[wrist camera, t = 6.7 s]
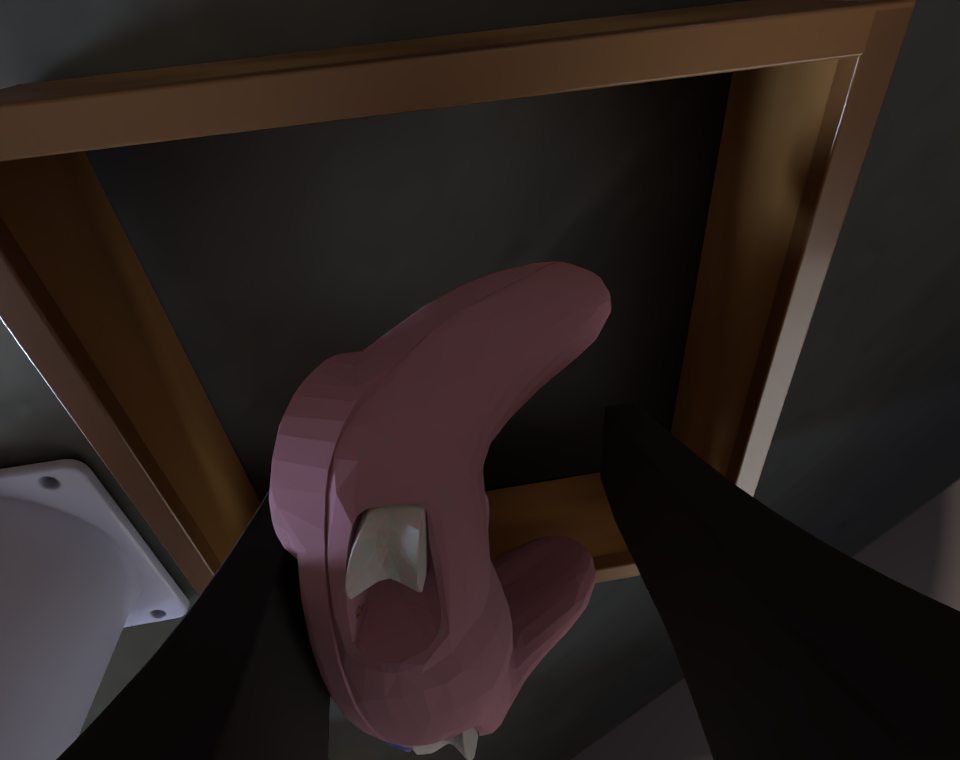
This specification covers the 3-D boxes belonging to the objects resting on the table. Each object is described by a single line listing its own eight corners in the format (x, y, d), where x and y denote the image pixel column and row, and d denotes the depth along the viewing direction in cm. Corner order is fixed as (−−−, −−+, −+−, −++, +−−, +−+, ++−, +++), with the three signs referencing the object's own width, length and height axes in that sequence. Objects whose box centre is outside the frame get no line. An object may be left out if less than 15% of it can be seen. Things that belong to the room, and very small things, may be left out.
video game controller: (397, 230, 11) (122, 470, 6) (622, 239, 10) (512, 566, 5) (455, 529, 17) (341, 781, 12) (601, 563, 16) (542, 866, 10)
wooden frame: (260, 540, 19) (235, 648, 16) (14, 81, 10) (-144, 121, 7) (679, 470, 20) (733, 559, 17) (773, -5, 11) (918, -3, 8)
